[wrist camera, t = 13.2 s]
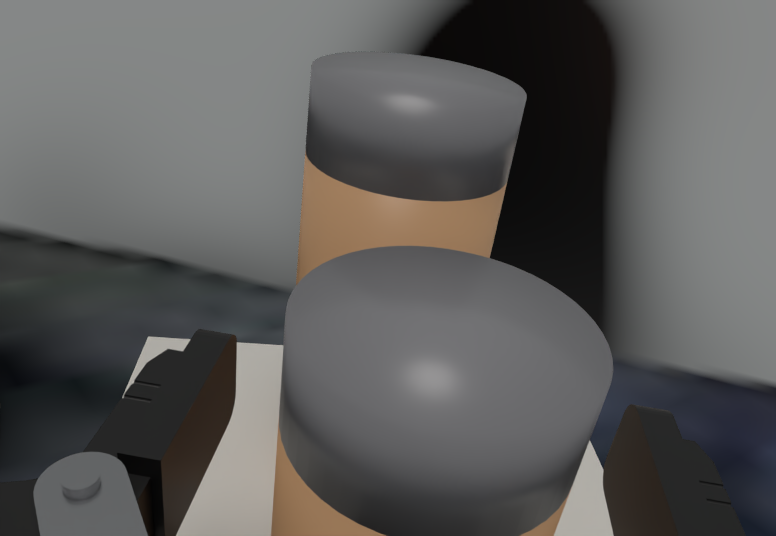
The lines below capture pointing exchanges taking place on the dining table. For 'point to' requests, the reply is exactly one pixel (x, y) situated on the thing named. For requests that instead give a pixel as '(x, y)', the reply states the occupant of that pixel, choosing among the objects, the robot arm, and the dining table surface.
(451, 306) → the grey-capped tan peg
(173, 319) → the dining table surface
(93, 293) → the dining table surface
